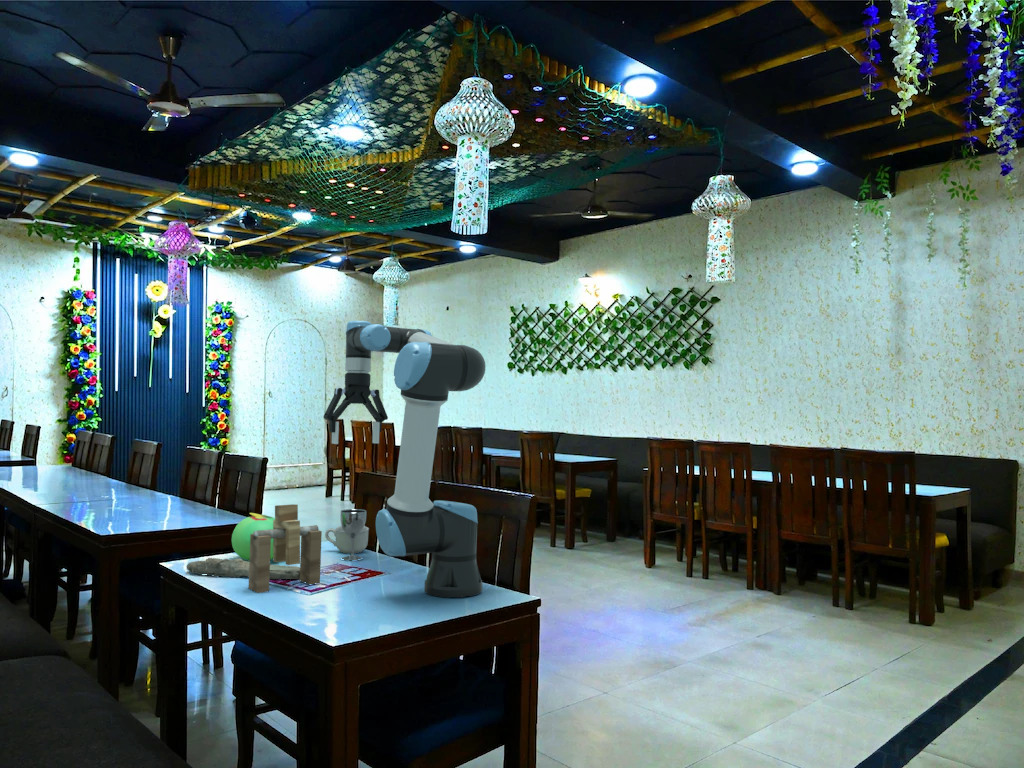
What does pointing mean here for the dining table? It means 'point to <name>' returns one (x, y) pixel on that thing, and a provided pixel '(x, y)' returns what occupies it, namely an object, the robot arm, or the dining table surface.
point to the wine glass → (353, 527)
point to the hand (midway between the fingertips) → (355, 443)
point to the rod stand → (261, 556)
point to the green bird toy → (248, 527)
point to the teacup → (348, 540)
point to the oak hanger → (287, 535)
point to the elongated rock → (239, 569)
